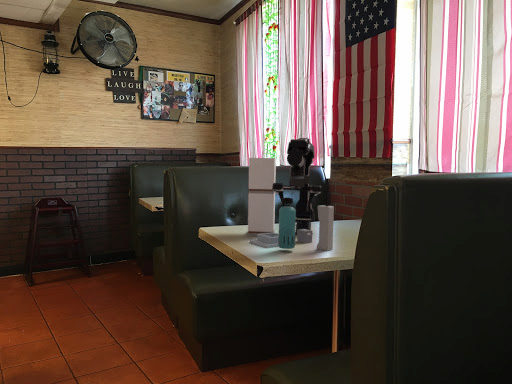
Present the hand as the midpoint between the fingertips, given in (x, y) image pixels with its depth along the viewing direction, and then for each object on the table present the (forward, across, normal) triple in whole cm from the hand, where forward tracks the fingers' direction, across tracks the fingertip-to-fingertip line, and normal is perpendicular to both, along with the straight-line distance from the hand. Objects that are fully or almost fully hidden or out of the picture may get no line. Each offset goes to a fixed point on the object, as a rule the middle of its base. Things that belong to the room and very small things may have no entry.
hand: (295, 210), depth 152 cm
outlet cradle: (+13, -9, +9) cm, 18 cm away
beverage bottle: (+16, -3, -4) cm, 16 cm away
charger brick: (+12, +5, +15) cm, 20 cm away
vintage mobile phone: (+14, +12, +1) cm, 19 cm away
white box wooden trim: (+10, -14, +30) cm, 35 cm away
